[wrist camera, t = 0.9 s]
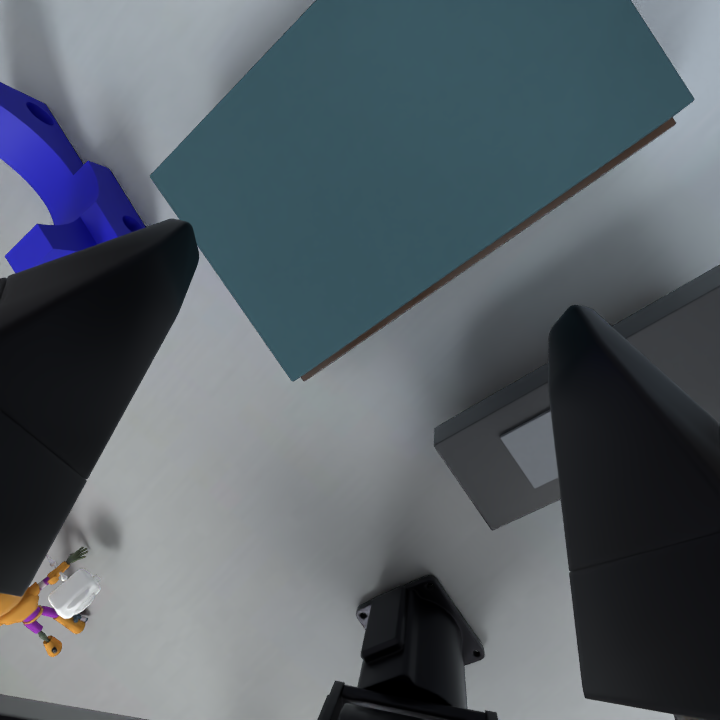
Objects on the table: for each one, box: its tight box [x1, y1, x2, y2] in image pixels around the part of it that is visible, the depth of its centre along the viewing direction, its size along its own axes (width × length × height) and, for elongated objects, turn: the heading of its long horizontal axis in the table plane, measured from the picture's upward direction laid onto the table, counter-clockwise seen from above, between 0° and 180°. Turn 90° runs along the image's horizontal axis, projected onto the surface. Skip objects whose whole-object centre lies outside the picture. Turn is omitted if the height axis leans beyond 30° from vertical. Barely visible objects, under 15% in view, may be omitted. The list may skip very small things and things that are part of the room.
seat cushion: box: [150, 0, 694, 381], centre depth 16 cm, size 12×19×2 cm, turn 125°
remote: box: [434, 265, 720, 530], centre depth 16 cm, size 5×15×3 cm, turn 125°
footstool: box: [301, 117, 676, 381], centre depth 19 cm, size 13×20×4 cm, turn 125°
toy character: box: [0, 547, 101, 657], centre depth 28 cm, size 10×9×12 cm
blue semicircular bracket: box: [0, 82, 145, 273], centre depth 22 cm, size 12×4×6 cm, turn 32°
